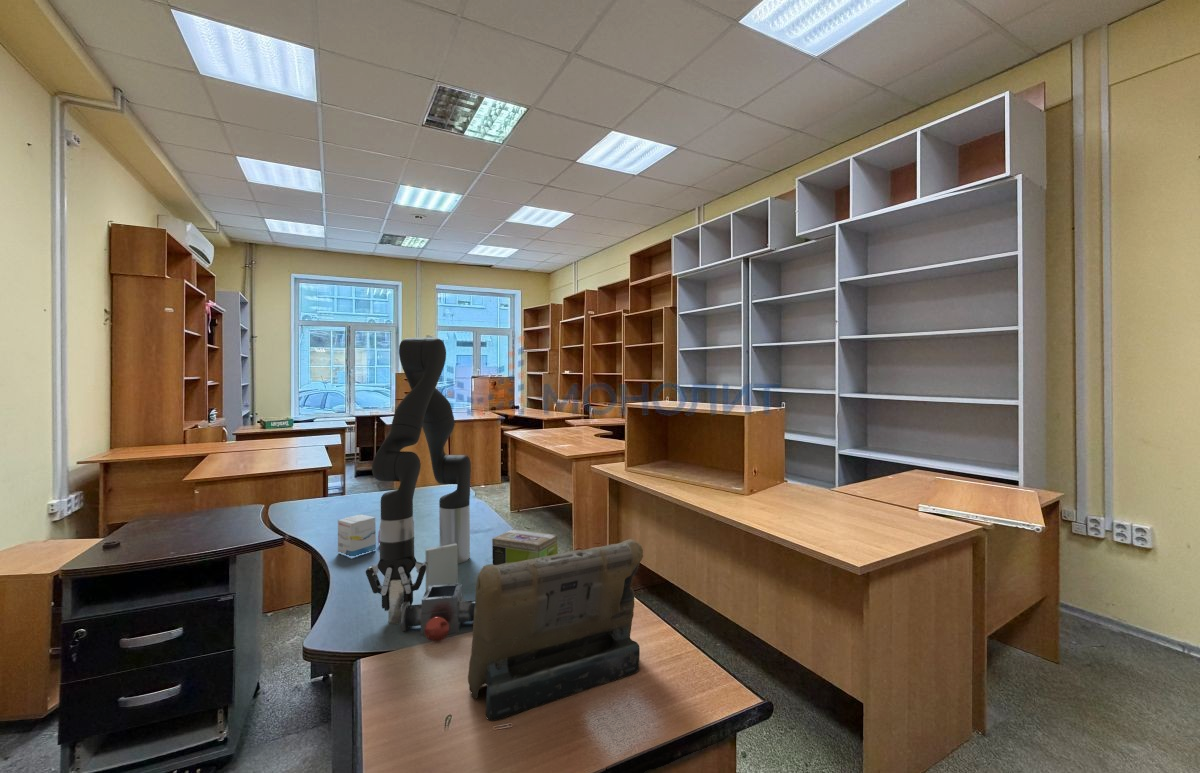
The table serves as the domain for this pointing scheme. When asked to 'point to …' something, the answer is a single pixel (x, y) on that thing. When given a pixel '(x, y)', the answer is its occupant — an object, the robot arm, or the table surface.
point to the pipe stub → (395, 600)
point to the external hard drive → (442, 565)
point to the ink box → (356, 535)
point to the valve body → (438, 612)
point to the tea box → (522, 546)
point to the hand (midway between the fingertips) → (397, 608)
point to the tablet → (553, 626)
